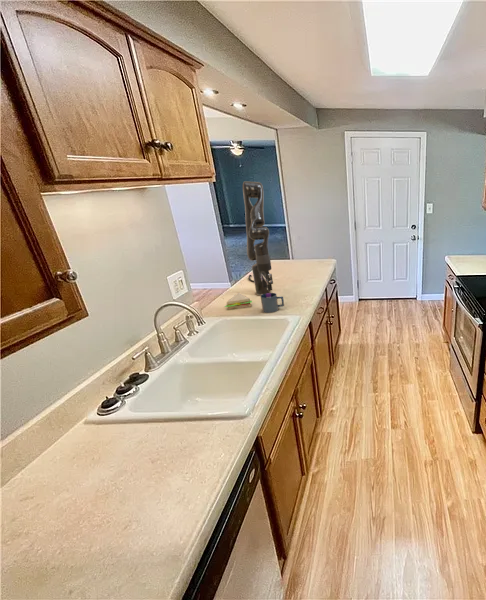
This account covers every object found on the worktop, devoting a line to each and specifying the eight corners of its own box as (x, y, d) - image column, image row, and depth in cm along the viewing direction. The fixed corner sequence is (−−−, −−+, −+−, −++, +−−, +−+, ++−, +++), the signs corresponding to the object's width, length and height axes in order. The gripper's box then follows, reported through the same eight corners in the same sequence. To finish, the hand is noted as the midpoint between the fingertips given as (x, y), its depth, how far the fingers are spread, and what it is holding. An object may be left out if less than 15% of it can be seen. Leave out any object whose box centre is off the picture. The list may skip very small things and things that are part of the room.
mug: (261, 313, 194) (259, 298, 191) (264, 307, 203) (262, 293, 199) (283, 311, 197) (281, 296, 193) (285, 306, 205) (283, 292, 202)
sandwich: (256, 297, 220) (255, 290, 218) (251, 308, 202) (250, 300, 200) (231, 299, 216) (230, 292, 215) (224, 310, 199) (222, 302, 197)
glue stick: (267, 309, 199) (264, 293, 197) (272, 308, 201) (269, 293, 199) (269, 309, 197) (266, 294, 195) (274, 308, 199) (271, 293, 197)
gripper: (274, 263, 186) (278, 290, 192) (265, 258, 196) (269, 284, 202) (261, 265, 182) (265, 293, 187) (252, 260, 192) (256, 287, 197)
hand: (267, 288), depth 195 cm, fingers open, 8 cm apart
